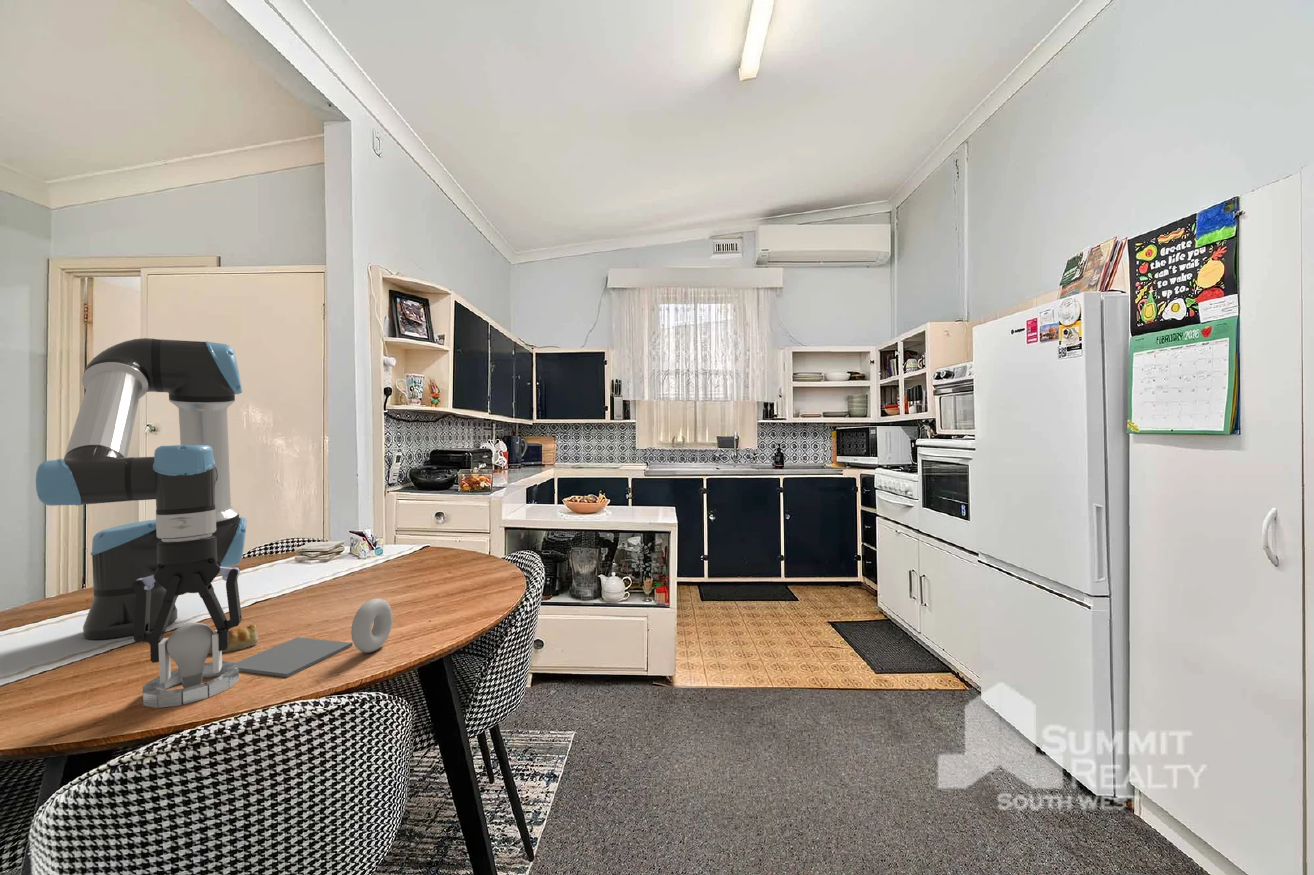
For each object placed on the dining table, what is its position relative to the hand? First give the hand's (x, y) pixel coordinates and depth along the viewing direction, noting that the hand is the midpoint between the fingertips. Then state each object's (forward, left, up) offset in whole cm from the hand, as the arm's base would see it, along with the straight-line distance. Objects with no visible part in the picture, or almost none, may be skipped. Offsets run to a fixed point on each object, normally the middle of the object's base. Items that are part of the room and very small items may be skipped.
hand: (192, 674), depth 90 cm
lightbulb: (0, 0, -3) cm, 3 cm away
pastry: (-12, +16, -3) cm, 20 cm away
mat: (+5, +14, -2) cm, 15 cm away
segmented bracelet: (0, 0, -2) cm, 2 cm away
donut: (+18, +20, -3) cm, 27 cm away
